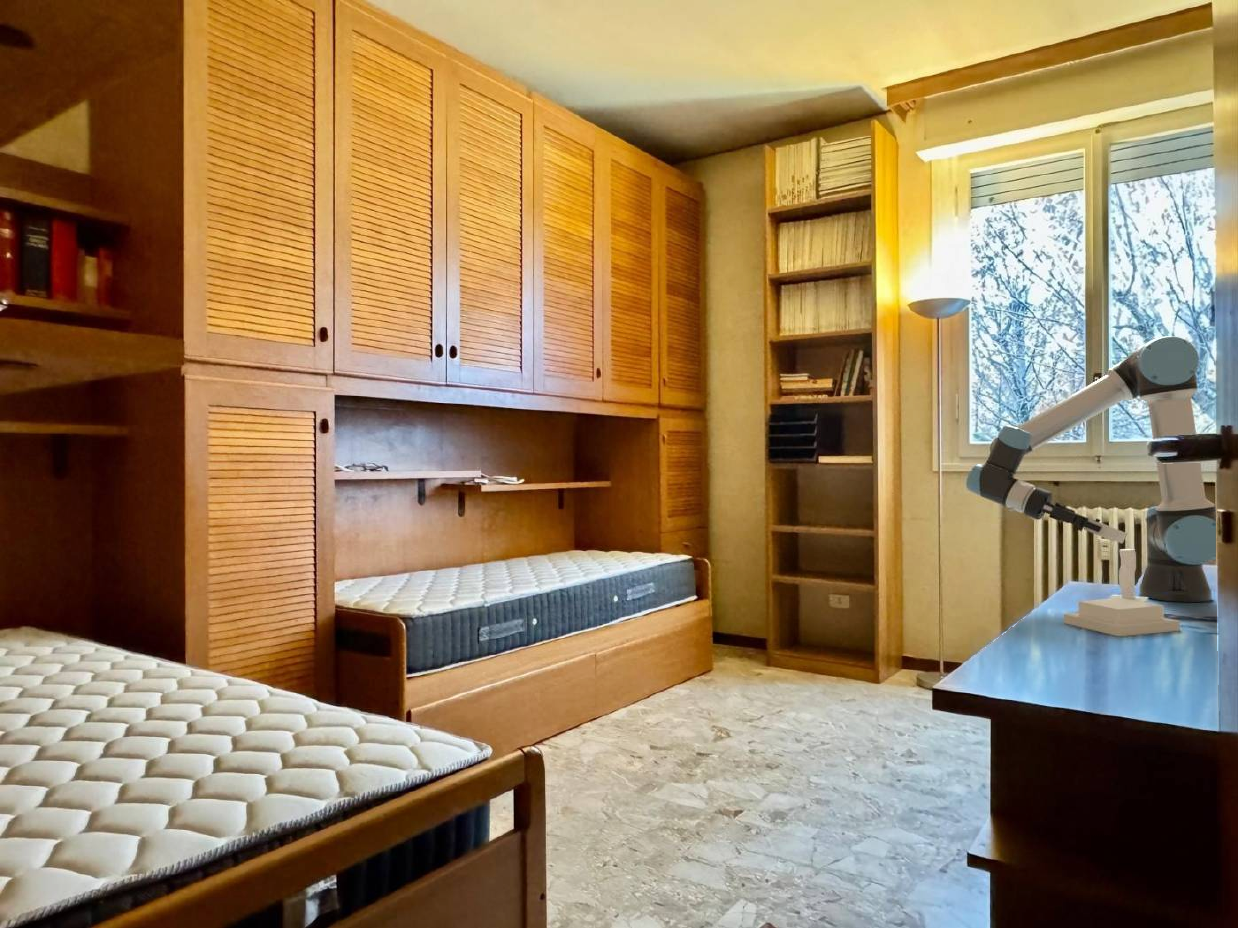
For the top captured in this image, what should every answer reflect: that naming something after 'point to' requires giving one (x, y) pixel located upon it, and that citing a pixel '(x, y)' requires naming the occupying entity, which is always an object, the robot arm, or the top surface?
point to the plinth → (1121, 617)
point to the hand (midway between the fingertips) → (1120, 537)
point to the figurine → (1128, 576)
